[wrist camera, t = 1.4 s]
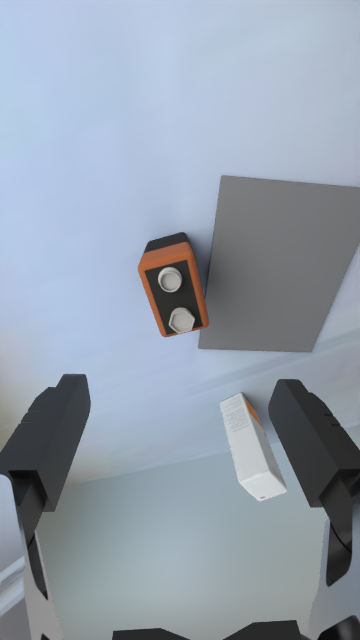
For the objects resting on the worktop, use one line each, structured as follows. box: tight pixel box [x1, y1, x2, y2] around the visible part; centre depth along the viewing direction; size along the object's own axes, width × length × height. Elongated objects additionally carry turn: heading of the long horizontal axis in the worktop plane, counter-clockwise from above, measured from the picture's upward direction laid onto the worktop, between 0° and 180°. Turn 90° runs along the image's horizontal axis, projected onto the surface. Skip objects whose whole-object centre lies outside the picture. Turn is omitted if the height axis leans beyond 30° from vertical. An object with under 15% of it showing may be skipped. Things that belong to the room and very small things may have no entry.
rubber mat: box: [198, 176, 360, 352], centre depth 27 cm, size 20×16×1 cm
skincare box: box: [219, 393, 288, 501], centre depth 33 cm, size 6×4×12 cm
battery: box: [138, 232, 209, 337], centre depth 21 cm, size 4×7×10 cm, turn 15°
